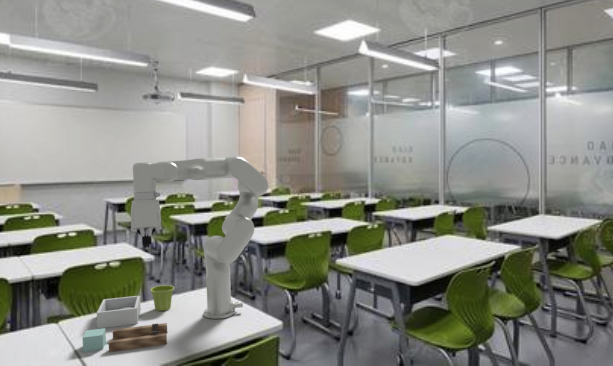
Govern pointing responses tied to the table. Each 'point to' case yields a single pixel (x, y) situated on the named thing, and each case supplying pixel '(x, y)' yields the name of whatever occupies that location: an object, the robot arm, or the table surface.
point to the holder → (118, 312)
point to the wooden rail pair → (138, 337)
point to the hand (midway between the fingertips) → (147, 246)
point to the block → (94, 340)
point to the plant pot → (162, 297)
